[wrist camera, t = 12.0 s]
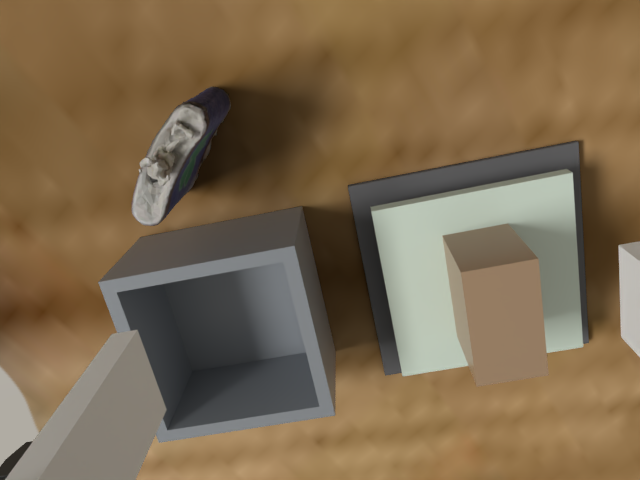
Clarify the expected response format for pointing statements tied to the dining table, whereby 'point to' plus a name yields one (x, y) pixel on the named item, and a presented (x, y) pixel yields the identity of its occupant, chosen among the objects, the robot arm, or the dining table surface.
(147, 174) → the dark elongated oval piece
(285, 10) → the dining table surface
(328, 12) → the dining table surface
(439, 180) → the mat
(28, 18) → the dining table surface
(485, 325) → the block on square base
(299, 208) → the storage box
